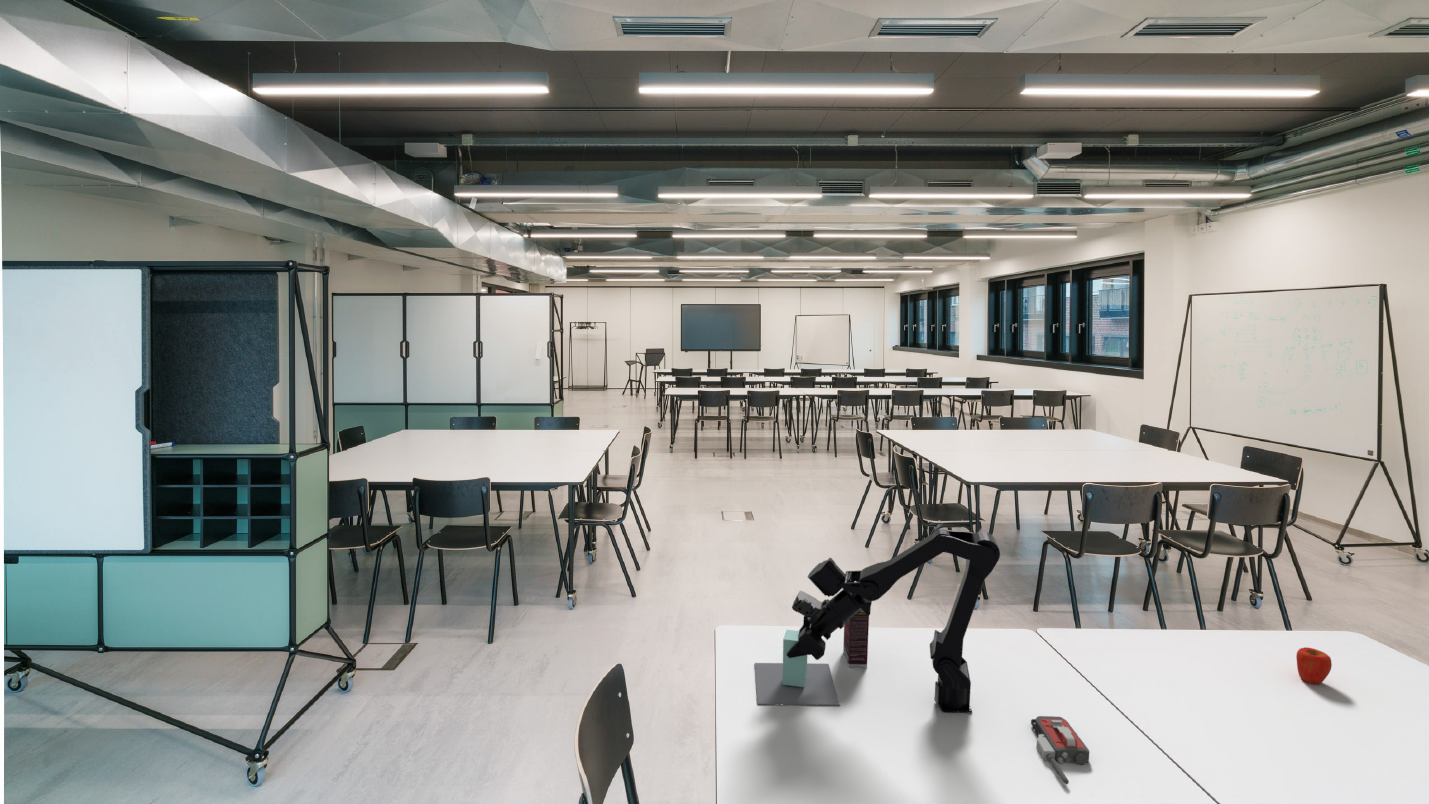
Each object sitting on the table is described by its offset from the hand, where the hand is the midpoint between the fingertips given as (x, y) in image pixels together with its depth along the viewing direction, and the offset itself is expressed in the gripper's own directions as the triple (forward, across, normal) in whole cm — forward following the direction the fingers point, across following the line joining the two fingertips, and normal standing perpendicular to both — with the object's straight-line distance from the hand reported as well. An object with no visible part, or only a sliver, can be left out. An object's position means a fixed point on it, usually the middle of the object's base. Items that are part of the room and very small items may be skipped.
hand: (789, 650), depth 166 cm
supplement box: (-4, -15, +16) cm, 22 cm away
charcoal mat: (+5, 0, +7) cm, 8 cm away
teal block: (+4, 0, +6) cm, 7 cm away
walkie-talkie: (-33, +13, +46) cm, 58 cm away
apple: (-78, -31, +90) cm, 123 cm away
